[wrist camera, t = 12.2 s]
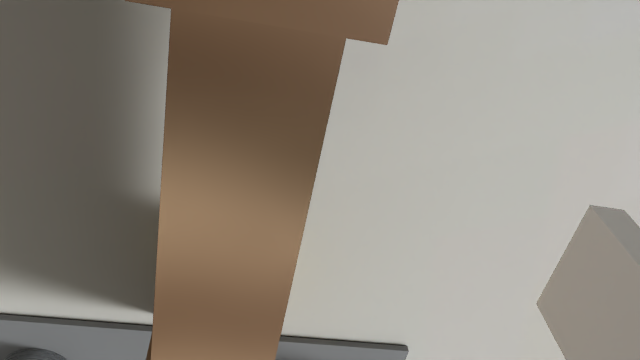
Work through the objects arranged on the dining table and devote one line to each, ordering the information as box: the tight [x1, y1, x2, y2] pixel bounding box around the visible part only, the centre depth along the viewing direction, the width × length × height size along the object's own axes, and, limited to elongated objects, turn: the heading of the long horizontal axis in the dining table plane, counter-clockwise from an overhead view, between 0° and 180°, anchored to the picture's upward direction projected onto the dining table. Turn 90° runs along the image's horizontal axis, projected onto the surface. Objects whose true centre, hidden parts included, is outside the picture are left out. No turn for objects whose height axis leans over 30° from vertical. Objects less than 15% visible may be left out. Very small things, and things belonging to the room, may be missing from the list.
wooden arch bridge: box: [125, 0, 399, 360], centre depth 17 cm, size 16×4×8 cm, turn 169°
